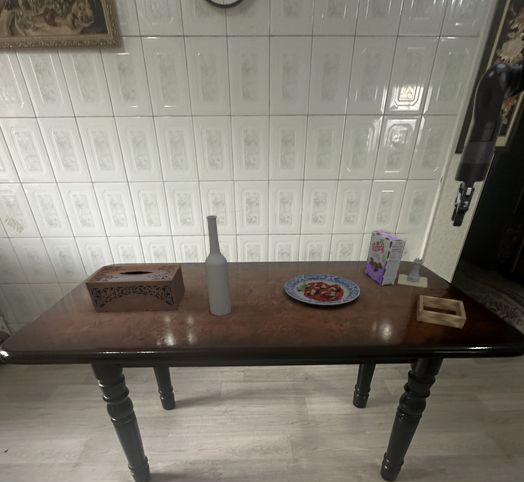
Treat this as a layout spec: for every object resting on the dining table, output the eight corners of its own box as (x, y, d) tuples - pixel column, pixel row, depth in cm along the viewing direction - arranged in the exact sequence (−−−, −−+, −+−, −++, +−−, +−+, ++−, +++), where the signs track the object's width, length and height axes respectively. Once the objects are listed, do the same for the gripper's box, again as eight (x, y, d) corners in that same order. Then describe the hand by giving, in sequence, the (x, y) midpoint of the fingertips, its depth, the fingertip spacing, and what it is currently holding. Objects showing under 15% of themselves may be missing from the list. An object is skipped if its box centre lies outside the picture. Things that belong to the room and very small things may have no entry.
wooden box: (458, 310, 94) (462, 301, 92) (462, 328, 85) (466, 318, 83) (417, 303, 98) (419, 294, 96) (416, 320, 89) (419, 310, 87)
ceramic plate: (370, 289, 107) (371, 281, 106) (339, 318, 91) (340, 309, 89) (307, 274, 120) (308, 267, 119) (270, 297, 103) (270, 288, 102)
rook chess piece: (417, 283, 111) (423, 262, 106) (404, 280, 113) (410, 259, 108) (420, 279, 114) (426, 258, 109) (408, 277, 116) (414, 256, 111)
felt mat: (426, 278, 116) (427, 277, 115) (426, 288, 108) (427, 287, 108) (399, 274, 119) (399, 273, 119) (397, 284, 112) (397, 283, 111)
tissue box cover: (96, 312, 95) (85, 282, 90) (112, 293, 107) (103, 266, 101) (177, 310, 96) (171, 280, 90) (185, 291, 108) (180, 264, 102)
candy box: (363, 272, 121) (371, 230, 112) (377, 271, 122) (386, 229, 113) (380, 286, 110) (391, 240, 101) (395, 284, 111) (407, 239, 102)
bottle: (230, 305, 99) (223, 213, 83) (232, 314, 93) (224, 218, 77) (210, 306, 98) (198, 214, 82) (210, 316, 92) (198, 219, 76)
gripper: (495, 162, 77) (472, 229, 86) (487, 160, 87) (467, 219, 96) (461, 162, 79) (442, 227, 88) (457, 160, 90) (441, 218, 99)
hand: (455, 223), depth 92 cm, fingers open, 8 cm apart
